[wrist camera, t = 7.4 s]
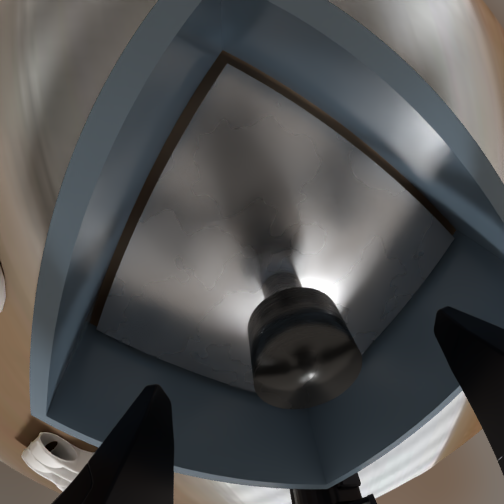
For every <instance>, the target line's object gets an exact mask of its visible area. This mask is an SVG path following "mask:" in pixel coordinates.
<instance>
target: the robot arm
mask: <svg viewBox="0 0 504 504" xmlns="http://www.w3.org/2000/svg"><path fill="white" fill-rule="evenodd" d="M434 334H435V337H436V339H437V341H438V343H439V345H440V347H441V349H442V351H443V354H444V356H445V358H446V360H447V362H448V365H449V367H450V369H451V371H452V373H453V374H454V376H455V378H456V380H457V381H458V383H459V385H460V387H461V388H462V390H463V392H464V394H465V396H466V397H467V399H468V401H469V403H470V405H471V407H472V409H473V410H474V412H475V414H476V416H477V418H478V420H479V422H480V424H481V426H482V428H483V430H484V432H485V434H486V436H487V438H488V441H489V443H490V445H491V447H492V449H493V451H494V454H495V455H496V458H497V460H498V463H499V465H500V467H501V470H502V472H503V475H504V329H503V328H501V327H499V326H496V325H494V324H491V323H489V322H487V321H484V320H482V319H479V318H477V317H474V316H472V315H469V314H467V313H465V312H462V311H460V310H457V309H455V308H452V307H450V306H446V307H443V308H441V309H439V310H438V311H437V313H436V318H435V323H434ZM360 485H361V482H360V479H359V476H358V473H355V474H353V475H352V476H350V477H348V478H346V479H345V480H343V481H341V482H339V483H338V484H336V485H334V486H332V487H330V488H328V489H290V494H291V500H292V504H377V503H376V500H375V498H374V496H373V494H371V495H368V496H367V497H364V498H362V496H361V493H360V490H359V486H360ZM173 488H174V433H173V419H172V405H171V401H170V399H169V397H168V396H167V394H166V393H165V391H164V390H163V389H162V387H161V386H160V385H159V384H152V385H147V386H146V387H145V388H144V389H143V390H142V392H141V393H140V394H139V396H138V397H137V398H136V399H135V401H134V402H133V403H132V405H131V406H130V407H129V409H128V410H127V411H126V413H125V414H124V415H123V416H122V418H121V419H120V420H119V422H118V423H117V424H116V426H115V427H114V428H113V430H112V431H111V432H110V433H109V435H108V436H107V437H106V439H105V440H104V441H103V443H102V444H101V445H100V447H99V448H98V449H97V450H96V452H95V453H94V454H93V456H92V457H91V458H90V460H89V461H88V463H87V464H86V465H85V466H84V467H83V469H82V470H81V471H80V473H79V474H78V475H77V476H76V477H75V479H74V480H73V481H72V482H71V483H70V485H69V486H68V487H67V488H66V489H65V490H64V491H63V492H62V493H61V494H60V495H59V496H58V497H57V498H56V500H55V501H54V502H53V503H52V504H173Z"/></svg>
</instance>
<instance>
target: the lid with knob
mask: <svg viewBox="0 0 504 504" xmlns="http://www.w3.org/2000/svg"><path fill="white" fill-rule="evenodd" d="M453 240H454V237H453V236H452V235H451V234H450V233H449V232H448V231H447V230H446V228H445V227H444V226H443V225H442V224H441V223H440V222H439V221H438V220H437V219H436V218H435V217H434V216H433V215H432V214H431V213H430V212H429V211H428V210H427V209H426V208H425V207H424V206H423V205H422V204H421V203H420V202H419V201H418V200H417V199H416V198H414V197H413V196H412V195H411V194H410V193H409V192H408V191H407V190H406V189H405V188H404V187H403V186H401V185H400V184H399V183H398V182H397V181H396V180H395V179H394V178H393V177H391V176H390V175H389V174H388V173H387V172H386V171H384V170H383V169H382V168H381V167H380V166H379V165H377V164H376V163H375V162H374V161H373V160H371V159H370V158H369V157H368V156H367V155H365V154H364V153H363V152H362V151H360V150H359V149H358V148H356V147H355V146H354V145H353V144H351V143H350V142H349V141H347V140H346V139H345V138H344V137H342V136H341V135H340V134H338V133H337V132H336V131H334V130H333V129H331V128H330V127H329V126H327V125H326V124H325V123H323V122H322V121H320V120H319V119H317V118H316V117H315V116H313V115H312V114H310V113H309V112H307V111H306V110H304V109H303V108H301V107H300V106H298V105H297V104H295V103H294V102H292V101H291V100H289V99H288V98H286V97H284V96H283V95H281V94H280V93H278V92H276V91H275V90H273V89H272V88H270V87H268V86H267V85H265V84H263V83H261V82H260V81H258V80H256V79H255V78H253V77H251V76H249V75H248V74H246V73H244V72H242V71H240V70H239V69H237V68H235V67H233V66H231V65H229V64H227V65H226V66H225V67H224V69H223V70H222V72H221V73H220V75H219V76H218V78H217V79H216V81H215V82H214V84H213V86H212V87H211V89H210V90H209V92H208V93H207V95H206V97H205V98H204V100H203V101H202V103H201V105H200V106H199V108H198V109H197V111H196V113H195V114H194V116H193V118H192V119H191V121H190V123H189V125H188V126H187V128H186V130H185V131H184V133H183V135H182V137H181V138H180V140H179V142H178V144H177V146H176V147H175V149H174V151H173V153H172V155H171V157H170V158H169V160H168V162H167V164H166V166H165V168H164V170H163V172H162V174H161V176H160V178H159V180H158V182H157V184H156V186H155V188H154V190H153V192H152V194H151V196H150V198H149V200H148V202H147V204H146V206H145V208H144V210H143V212H142V215H141V217H140V219H139V221H138V223H137V226H136V228H135V230H134V232H133V235H132V237H131V239H130V241H129V244H128V246H127V249H126V251H125V253H124V256H123V258H122V261H121V263H120V266H119V268H118V271H117V273H116V276H115V278H114V281H113V283H112V286H111V289H110V291H109V294H108V297H107V300H106V302H105V305H104V308H103V311H102V314H101V317H100V320H99V323H98V326H97V329H96V330H98V331H100V332H102V333H104V334H106V335H108V336H110V337H112V338H114V339H117V340H119V341H121V342H123V343H125V344H127V345H129V346H131V347H134V348H136V349H138V350H140V351H143V352H145V353H147V354H149V355H152V356H154V357H157V358H159V359H161V360H164V361H166V362H169V363H171V364H174V365H176V366H179V367H181V368H184V369H186V370H189V371H192V372H194V373H197V374H200V375H202V376H205V377H208V378H211V379H214V380H217V381H220V382H223V383H226V384H229V385H232V386H235V387H238V388H241V389H244V390H247V391H251V392H254V393H257V395H258V396H259V397H260V398H261V399H262V400H263V401H264V402H266V403H267V404H270V405H272V406H275V407H278V408H283V409H304V408H310V407H314V406H317V405H321V404H323V403H326V402H328V401H330V400H332V399H334V398H336V397H337V396H339V395H340V394H342V393H343V392H344V391H346V390H347V389H348V388H349V387H350V386H351V385H352V384H353V383H354V381H355V380H356V379H357V377H358V375H359V373H360V371H361V368H362V355H361V354H362V353H363V352H364V351H365V350H366V349H367V348H368V347H369V346H370V345H371V344H372V343H373V342H374V340H375V339H376V338H377V337H378V336H379V335H380V334H381V333H382V332H383V331H384V329H385V328H386V327H387V326H388V325H389V324H390V323H391V321H392V320H393V319H394V318H395V317H396V316H397V314H398V313H399V312H400V311H401V310H402V308H403V307H404V306H405V305H406V304H407V302H408V301H409V300H410V299H411V297H412V296H413V295H414V294H415V292H416V291H417V290H418V289H419V287H420V286H421V285H422V283H423V282H424V281H425V279H426V278H427V277H428V275H429V274H430V273H431V271H432V270H433V269H434V267H435V266H436V264H437V263H438V262H439V260H440V259H441V257H442V256H443V255H444V253H445V252H446V250H447V249H448V247H449V246H450V244H451V243H452V241H453Z"/></svg>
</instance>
